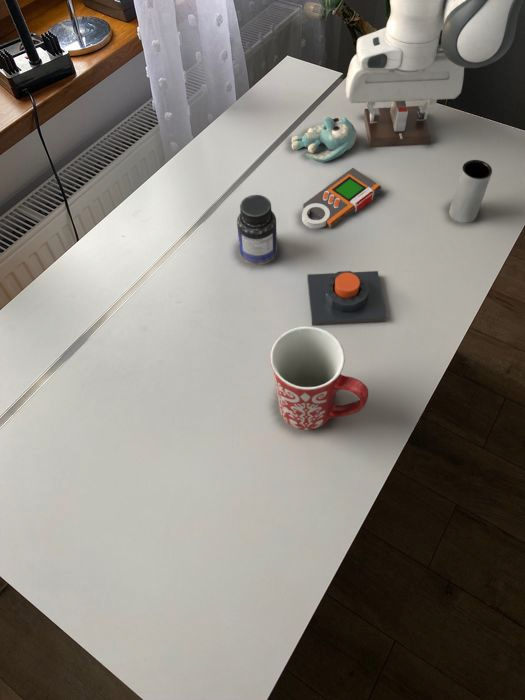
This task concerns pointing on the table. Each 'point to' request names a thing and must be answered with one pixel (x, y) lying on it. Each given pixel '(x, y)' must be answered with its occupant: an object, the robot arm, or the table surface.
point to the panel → (385, 135)
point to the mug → (312, 378)
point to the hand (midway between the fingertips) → (397, 118)
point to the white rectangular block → (399, 115)
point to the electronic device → (340, 200)
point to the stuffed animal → (327, 138)
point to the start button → (347, 285)
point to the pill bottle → (257, 230)
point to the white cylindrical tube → (470, 190)
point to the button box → (345, 300)
